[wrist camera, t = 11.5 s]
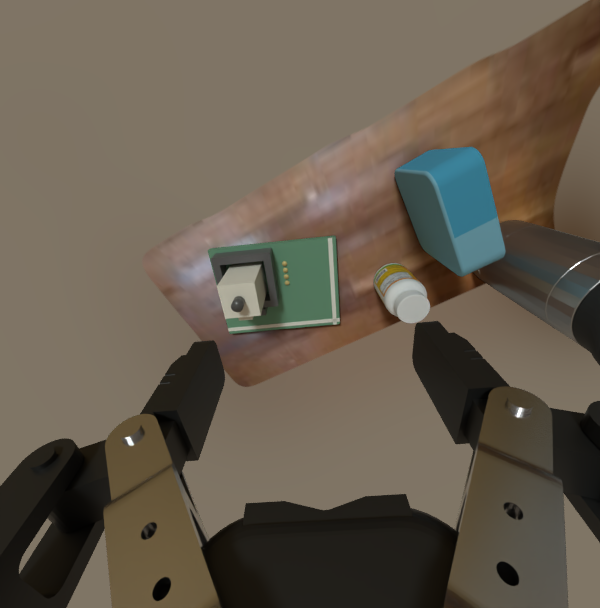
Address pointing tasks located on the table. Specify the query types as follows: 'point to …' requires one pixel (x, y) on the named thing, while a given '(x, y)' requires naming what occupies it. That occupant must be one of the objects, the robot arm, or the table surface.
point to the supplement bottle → (401, 293)
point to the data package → (452, 208)
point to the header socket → (252, 255)
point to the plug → (243, 290)
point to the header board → (296, 285)
